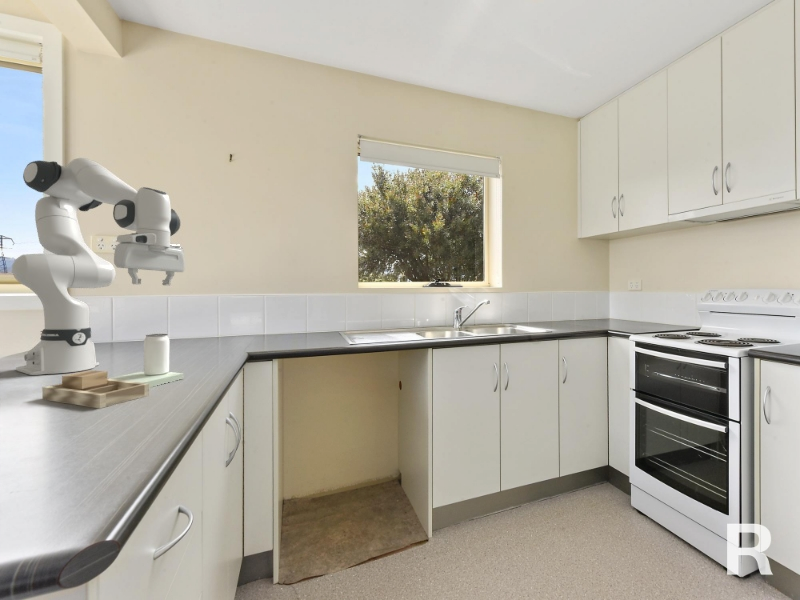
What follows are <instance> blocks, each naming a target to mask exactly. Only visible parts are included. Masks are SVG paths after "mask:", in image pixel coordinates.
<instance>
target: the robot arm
mask: <svg viewBox="0 0 800 600" xmlns="http://www.w3.org/2000/svg"><path fill="white" fill-rule="evenodd" d="M22 175H23V177H22V178H23V181H24V183H25V185H26V186H27V187H29V188H30V189H32V190H35V191H36V192H38V193H43V194H45V195H48V196H44V197H42V198H40V199H39V200H37V202H36V205H35V209H34V213H35V214H34V217H35V218H34V220H35V227H36V231H37V232H36V233H37V236H38V242H39V244H40V245H41V247H43V249H45V250H46V251H47V252H50V253H27V254H22V255H19V256H18V257H17V258H16V259H15V260H14V261H13V263H12V266H11V273H12V275H13V277H14V279H15V280H16V281H17V282H18V283H20V284H21V285H23V286H25V287H27V288H29V289H30V290H31V291H32V292H33V293H34V294H35V295H36V296H37V298H38V299H39V300H40V302H41V304H42V308H43V316H44V329H42V330H41V331H40V341H39V342H38V343H37V344H35V346H33V347H32V348H31V349H30V350H29V351H28V352H27V353H26V354H24V355H23V358H24V361H26V362H25V363H26V364H25V365H21V366H18V367H15V371H17V372H19V373H23V374H26V375H29V376H38V375H39V376H40V375H53V374H65V373H66V374H67V373H74V372H75V373H77V372H83V371H88V370H92V369H94V368H96V367H98V366H99V365H100V362H99V361H97V360H96V359H97V358H96V351H95V350H96V349H95V343H94V342H93V341H92V340H91V338H92V328H91V327H90V311H91V310H90V307H89V305H88V303H86V302H84V301H83V300H81V299H78V298H76V297H73V296H71V295H70V294H69V291H68V289H99V288H106V287H109V286H111V285H112V284H113V283H114V281H115V279H116V275H117V274H116V273H117V272H116V268H119V269H127V273H128V275H129V277H130V278H131V284H132V285H139V286H140V285H142V278H139V277H138V275H137V273H138V272H139V270H144V271H156V272H157V271H159V272H165V276H166V277H165V279H162V286H167V287H168V286H171V281H172V279H173V278H174V277H175V273H184V272H185V270H186V260H185V253H184V252H185V251H184V248H183V247H182V246H181V245H180V244H174V243H171V237H172V236H173V235H175V234H177V233H178V231H179V230H180V229H181V219H180V216H179V214H178V213H177V212H176V211H175V210H174V209H173V208H171V207H172V206H171V199H170V195H169V194H168V193H166V192H165V191H162V190H159V189H155V188H150V187H147V186H146V187H145V186H144V187H143V186H142V187H139V189H138V190H137V189H135V188H134V187H132V186H131V185H129V183H126V182H125V181H124V180H122V179H121V178H119V177H118V176H117V175H115V173H113V172H112V171H110V170H109V169H108V168H106V167H105V166H103V165H102V164H100V163H98V162H96V161H95V160H92V159H89V158H86V157H79V158H74V159H72V160H71V161H70V162H69V163H68V165H66V166H64V165H60V164H58V161H46V160H33V161H31V162H29V163H28V164H27V165H26V167H25V169H24V171H23V174H22ZM103 204H107V205H113V211H112V214H113V215H112V216H113V219H114V222H115V223H116V224H117V225H118V227H119V228H122V229H125V230H128V231H134V232H135V233H133V232H131V233H128V234H118V235H117V236H116V241H117V242H118V243H117V245H116V246H115V248H114V253H113V264H114V265H115V266H114V265H113V264H112V263H111V262H110V261H108V260H106V259H104V258H103V257H101V256H99V255H98V254H97V253H95V252H94V251H93V250H92V249H91V248H90V247H89V246H88V245H87V244H86V242H85V239H84V236H83V234H82V231H81V226H80V223H79V219H78V215H77V213H78V211H80V212H88V211H90V210H92V209H96V208H97V207H99V206H101V205H103ZM51 253H52V254H51ZM115 267H116V268H115Z"/></svg>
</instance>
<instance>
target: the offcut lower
mask: <svg viewBox="0 0 800 600" xmlns="http://www.w3.org/2000/svg"><path fill="white" fill-rule="evenodd" d="M105 386H108V383H104V384H100V385H96V386H92V387H88V388H84V389H74V390H81V391H86V390H91V389H95V388H100V387H105ZM61 388H62V387H61ZM67 389H72V388H67Z"/></svg>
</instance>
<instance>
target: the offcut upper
mask: <svg viewBox="0 0 800 600" xmlns="http://www.w3.org/2000/svg"><path fill="white" fill-rule="evenodd" d="M108 374H109V373H108V371H107V370H106V371H105V370H83V371H78V372H75V373H74V372H73V373H70V374H65V375H62V376H61V384H62V388H72V389H84V388H88V387H92V386H96V385H100V384H104V383H107V378H108Z"/></svg>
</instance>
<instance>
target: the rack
mask: <svg viewBox="0 0 800 600" xmlns="http://www.w3.org/2000/svg"><path fill="white" fill-rule="evenodd" d="M107 383H108V386H105V387H100V388H95V389H91V390H86V391H81V390H74V389H67V388H61V387H62V383H57V384H52V385H47V386H42V388H41V389H42V393H41V394H42V395H41V396H42V398H41V400H45V401H52V402H57V403H58V402H59V403H65V404H71V405H77V406H83V407H89V408H94V409H95V408H96V409H102V408H107V407H111V406H113V405H114V406H115V405H118V404H121V403H125V402H130V401H132V400H137V399H140V398H144V397H147V396H150V388H149V384H147V383H139V382H130V381H122V380H114V379H107Z"/></svg>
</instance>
